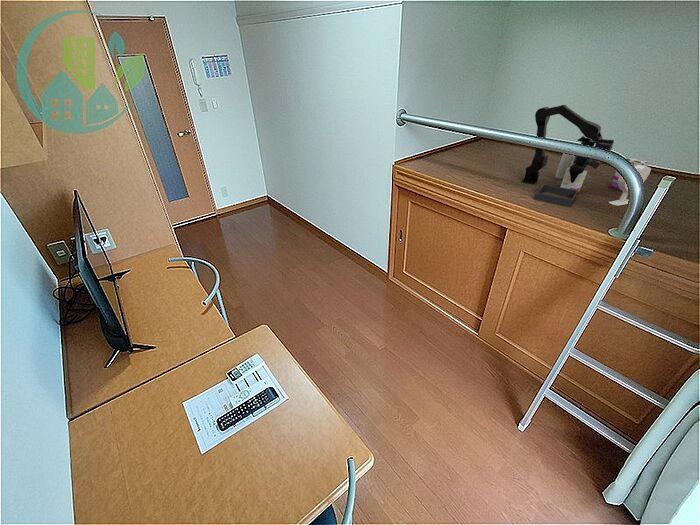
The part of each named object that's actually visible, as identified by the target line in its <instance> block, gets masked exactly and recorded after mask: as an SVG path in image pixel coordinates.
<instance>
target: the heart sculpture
mask: <svg viewBox="0 0 700 525" xmlns="http://www.w3.org/2000/svg"><path fill="white" fill-rule="evenodd" d="M635 168H636V169H637V171H638V172H639V173H640V175H641V177H642V179H643V183H644V182H645V181H646V180H647V179H648V177H649V175H650V173H651V172H652V168H651V167H649V166H648V167H647V166H643V165H637V166H635ZM618 186H619V188H620V189H621V190H622V191H621V192H622V193H621V195H620V197H619V199H615V200H612V201H608V203H609V204H611V205H612V206H617V207H619V206H624V205H629V204H628V201H629V200H630V199H628V198H627V197H628V195H629V193H628V187H627V184H626V182H625V180H624V179H623V177H622V176H621V175H620V176H619V179H618Z"/></svg>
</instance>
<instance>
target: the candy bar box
mask: <svg viewBox="0 0 700 525" xmlns="http://www.w3.org/2000/svg"><path fill="white" fill-rule="evenodd" d="M624 158H626V159H627V160H628V161H629V162H630V163H631V164H632V165H633V166H634V167H635V166H637V165H643V166H647V167H649V165H650V161H647V160H643V159H639V158H635V157H630V156H624ZM619 176H620V174H619V173H618V172H617V171H616V170H615V172H614V175H613V176H612V179H611V181H610V184H609V186H608V188H611V189H614V190H617V191H620V192H623V191H622V190H621V189H620V188H619V186H618V179H619Z"/></svg>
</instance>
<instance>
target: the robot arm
mask: <svg viewBox="0 0 700 525" xmlns="http://www.w3.org/2000/svg"><path fill="white" fill-rule="evenodd" d="M556 115H560V116H562V117H563V118H564V119H566V120H567V121H568V122H570V123H572V124H573V125H574V126H575V127H577V129H579V131H580V133H581V134H582V136H581V137H580V138H578V139H577V142H580V145H581V144H583V145H589V146H594V147H599V148H603V149H607V150H610V152H611V151H612V149H613V146H614V142H615V140H614V139H607V138H606V139H605V138H603V135H602V127H601V125H600V124H598V123H596V122H594V121H590V120H587V119H585V118H583V116H581V115H580V114H578V113H577V112H576V111H574V110H572V108H569V107H568V105H566V104H561V105H557V106H552V107H549V106H543V107H541V108H538V109H537V110H536V111H535V114H534V119H535V124H536V137H537V136H538V137H543V138H547V136H546V135H547V129H548V128H547V127H548V123H549V121H550V119H551V116H556ZM545 150H546V148H545V149H539V148H536V147H535V150H534V151H535V153H534V155H533V158H532V160H531V164H530V165H529V166H527V167H526V168H525V174H524V177H523V179H522V181H521V182H523V183H527V184H531V185H534V184H536V183H537V182H538V180H539V177H540V171H541V170H542V169H544V168H545V167H546V165H547V163H549V161H548V158H549V155H548V154H547V155H546V154H545ZM600 161H601V160H600ZM600 161H596V160H592V159H588V158H583V157H579V156H575V158H574V161H573V164H572V165H571V166H570V169H569V171H570V178H571V183H574V181H575V179H576V178H577V176H578V175H579V174H581V173H583V171H584V170H586V168H587V167H588V166H589V167H591V168H593V169H595V170H596V169H597V168H598V167H599V166H600V165H601V164H602V161H601V162H600Z"/></svg>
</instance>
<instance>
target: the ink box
mask: <svg viewBox="0 0 700 525" xmlns="http://www.w3.org/2000/svg"><path fill="white" fill-rule="evenodd" d="M569 169H570V167H569V168H567V169H566V172H565V175H564V178H563V180H561V184H560V186H559V187H562V188H567V189H572V190H577V191H578V192H577V194H578V193H580V191H581V189H582V186H583V184H584V181H585V179H586V177H587V174H588V172H589V171H588V170H586V169H584V171H583V173H581V174H579V175H578V176H577V178H576V179H575V181H574V183H571V178H570V171H569Z"/></svg>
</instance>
